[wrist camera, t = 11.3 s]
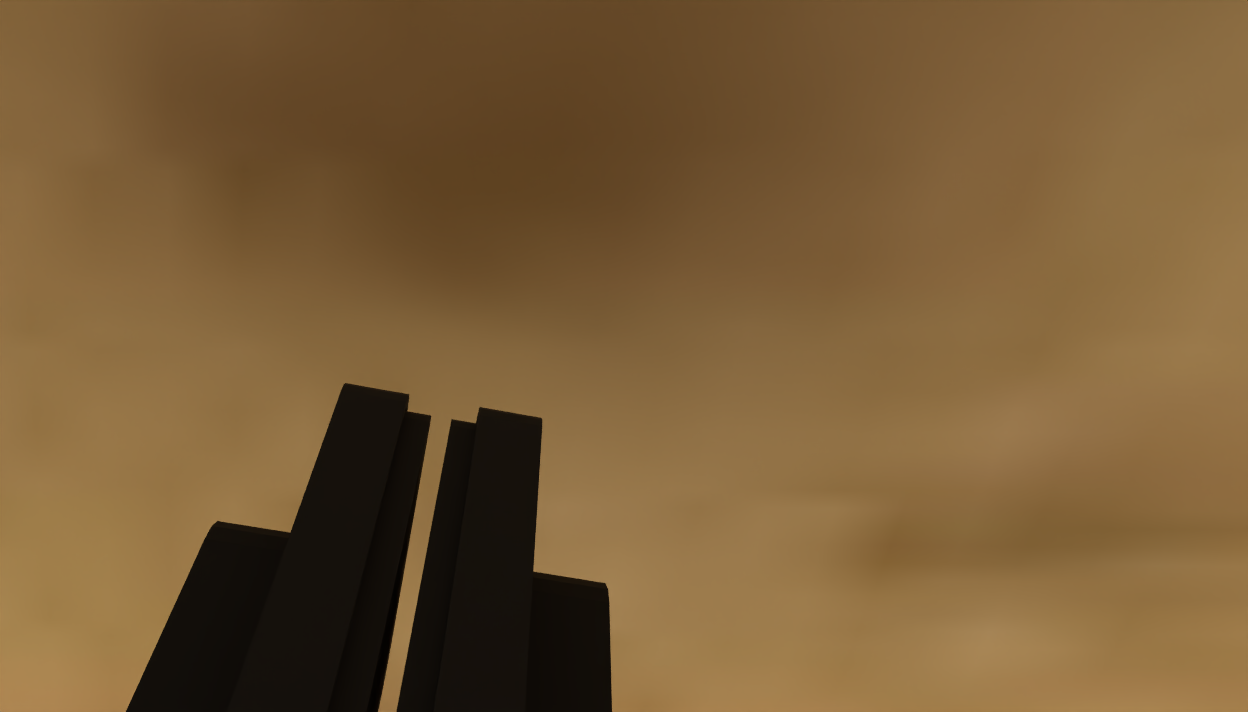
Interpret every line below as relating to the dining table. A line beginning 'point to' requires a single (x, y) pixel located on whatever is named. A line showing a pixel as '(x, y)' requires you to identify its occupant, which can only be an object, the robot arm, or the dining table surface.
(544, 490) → the dining table surface
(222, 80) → the dining table surface
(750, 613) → the dining table surface
